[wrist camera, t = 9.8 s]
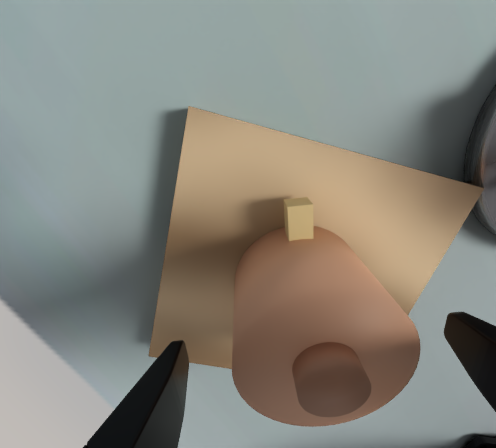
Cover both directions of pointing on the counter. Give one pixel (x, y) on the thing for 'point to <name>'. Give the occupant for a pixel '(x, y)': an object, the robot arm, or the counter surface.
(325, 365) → the cap
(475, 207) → the metal flange
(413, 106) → the counter surface
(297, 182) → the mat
